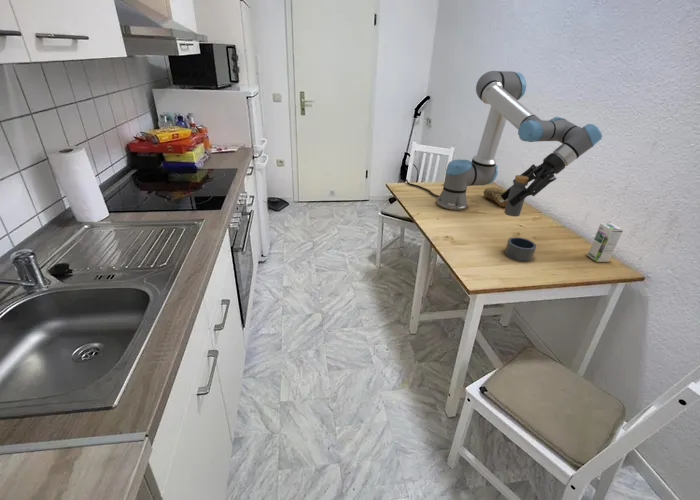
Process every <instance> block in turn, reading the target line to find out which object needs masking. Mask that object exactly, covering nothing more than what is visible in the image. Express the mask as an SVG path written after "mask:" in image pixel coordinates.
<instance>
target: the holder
mask: <svg viewBox="0 0 700 500" xmlns="http://www.w3.org/2000/svg"><path fill="white" fill-rule="evenodd" d="M536 249H537V244H536V243H535V242H534V241H532V240H530V239H528V238H524V237H520V236H517V237H516V236H514V237H513V236H511V237H509V238H508V239H507V241H506V245H505V248H504V254H505V256H506V257H507V258H510V259H511V260H514V261H517V262H525V263H527V262H530V261H532V260H533V258H534V255H535V253H536Z"/></svg>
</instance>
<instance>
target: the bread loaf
mask: <svg viewBox="0 0 700 500" xmlns="http://www.w3.org/2000/svg"><path fill="white" fill-rule="evenodd" d="M505 191H506V190H503V189H501V188H497V187H488V188H485V189H484V190H483V196H484V197H485V198H487V199H488V200H491V201H493V202H495V203H497V204H498V206H500V207H501V208H505V207H506V203H507V200H508V198H507V199H506V200H505V201H504V200H503V198H502V197H501V196H500V195H502V194H503V193H504V192H505Z"/></svg>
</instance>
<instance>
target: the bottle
mask: <svg viewBox="0 0 700 500" xmlns="http://www.w3.org/2000/svg"><path fill="white" fill-rule="evenodd" d="M514 177H515V178H514V179H515V180H514V179H513V180H514V181H513V180H512V184H513V185H514V186H512V185H511V186H512V187H511V186H510V187H511V189H510V192H509V196H508V200H507V203H506V207H504V212H503V213H504V214H505V215H506V216H510V217H519V216H520V215H521V212H522V209H523V205H524V202H525V199H523V200H522V201H520V202H519V203H517V204H516V205H515V206H512V205H511V204H510V203H509V201H510V200H511V199H512V198H514V197H515V196H516V195H517V194H519V193H520V192H521V191H522V190H524V189H527V186H529V185H528V184H529V182H527V181H528V179H529V178H528V177H526V176H522V175H521V174H518V175H515V176H514ZM524 191H525V190H524Z"/></svg>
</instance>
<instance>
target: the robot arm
mask: <svg viewBox="0 0 700 500" xmlns="http://www.w3.org/2000/svg"><path fill="white" fill-rule="evenodd" d="M526 90H527V80H526V78H525V76H524V74H522V73H521V72H517V71H511V70H509V71H508V70H507V71H506V70H490V71H487V72H485V73H483V74H482V75H480V77H479V78H478V80H477V82H476V85H475V92H476V95H477V97H478V99H479V100H480V101H481V102H483V104H485V105H490V108H489V112H488V116H487V118H486V123H485V125H484V129H483V133H482V135H481V139H480V143H479V145H478V150H477V153H476V154H475V155H474V156H473V157H472V160H468V159H459V158H458V159H453V160H451V161H450V162H448V163H447V166H446V169H445V176H444V182H443V187H442V190H441V193H440V195H438V194H435V193H433V192H432V191H431V190H430V189H428V188H426V187H423V186H421V185H418V184H414V183H411V182H409V181H408V179H407V178H406V179H404V181H403V182H406V183H407V184H408V185H409V186H412V187H416V188H419V189H422V190H424V191H426V192H428V193H429V194H430V195H431V196H433V197H437V201H436V205H437V206H438V207H440V208H443V209H444V210H449V211H463V210H466V209H467V208H468V207H467V206H468V199H467V190H468V187H473V186H476V187H477V186H486V185H487V186H488V185H490V184H492V183H493V182H494V181H496V179H497V177H498V173H499V170H498V168H499V167H498V165H497V161H496V158H495V156H496V154H497V150H498V148H499V144H500V141H501V139H502V135H503V132H504V129H505V126H506V123H507V121H508V122H509V123H510V124H511V125H512V126H513V127H514V128H515V129H517V135H518V138H519V139H520V140H521V141H522V142H528V143H534V142H535V143H536V142H559V143H561V144H560V145H559V146H558V147H557V148H555V149H554V150H553V151H552V152H550V153H549V154H548V155H546V156H545V157H544V158H543V159H542V163H541V164H538V165H536V164H534V163H532V165H530V167H528V169H526V170H525V171H524V172H522V173H520V175H522V176H526V177H528V178H529V179H528V181H527V182H528V183H530V182H531V183H530V184H529V185H528V187H526V189H524V190H525V191H524V190H522V191H521V192H520V193H519V194H517V195H516V196H515V197H514V198H512V199H511V200H510V201H509V203H510V204H511V205H512V206H515V205H516V204H517V203H519V202H520V201H522V200H523V199H524V200H525V199H526V198H528V197H529V196H532V197H535V196H536V195H538V194H539V193H540V192H541V191H542V190H543V189H545V188H546V187H547V186H548V185H549V184H551V183H552V182H554V181H556V180H557V177H556V175H558V174H559V173H561V172H562V171H563V170H565V169H566V167H568V166H569V165H571V164H572V163H573V162H574V161H575V160H577V159H579V157H580V156H582V155H583V154H585V153H586V152H587V151H589V150H590V149H592V148H593V147H594V146H595V145H596V144H598V143H599V142H600V141H602V139H603V132H602V131H601V129H600V128H599V127H598V126H597V125H595V124H593V123H587V124H586V125H583V126H582V127H581V126H578V125H576V124H575V123H573V122H571V121H569V120H568V119H566V118H563V117H561V116H554V117H553V118H551V119H549V120H545V119H544V120H543V119H541V118H539V117H538V116H537V115H536V114H534V113H533V112H532V111H531V110H529V109H528V108H527V107H526V106H525V105H524V104H523V103H521V102H520V101H519V100H520V99H522V98H523V96H524V95H525V94H526ZM514 180H515V178H514V179H513V180H512V182H513V181H514ZM410 183H411V184H410ZM512 186H514V184H512V185H511V186H510V187H509V188H507V189H506V190H504V191H505V192H504V193H503V194H502V195H500V196H501V197H502V198H503V200H504V201H505V200H506V199H507V198H508V196H509V192H510V189H511V187H512Z"/></svg>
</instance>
